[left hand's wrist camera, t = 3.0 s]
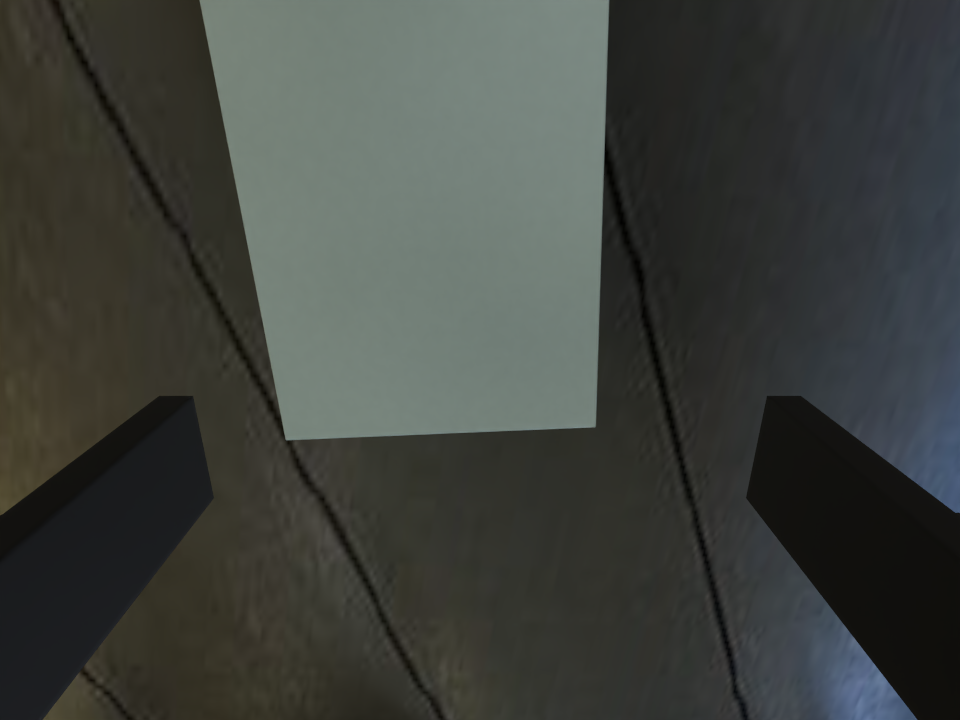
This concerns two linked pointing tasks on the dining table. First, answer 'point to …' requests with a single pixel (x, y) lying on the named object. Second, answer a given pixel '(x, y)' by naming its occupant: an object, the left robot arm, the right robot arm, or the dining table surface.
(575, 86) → the cabinet
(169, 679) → the dining table surface
